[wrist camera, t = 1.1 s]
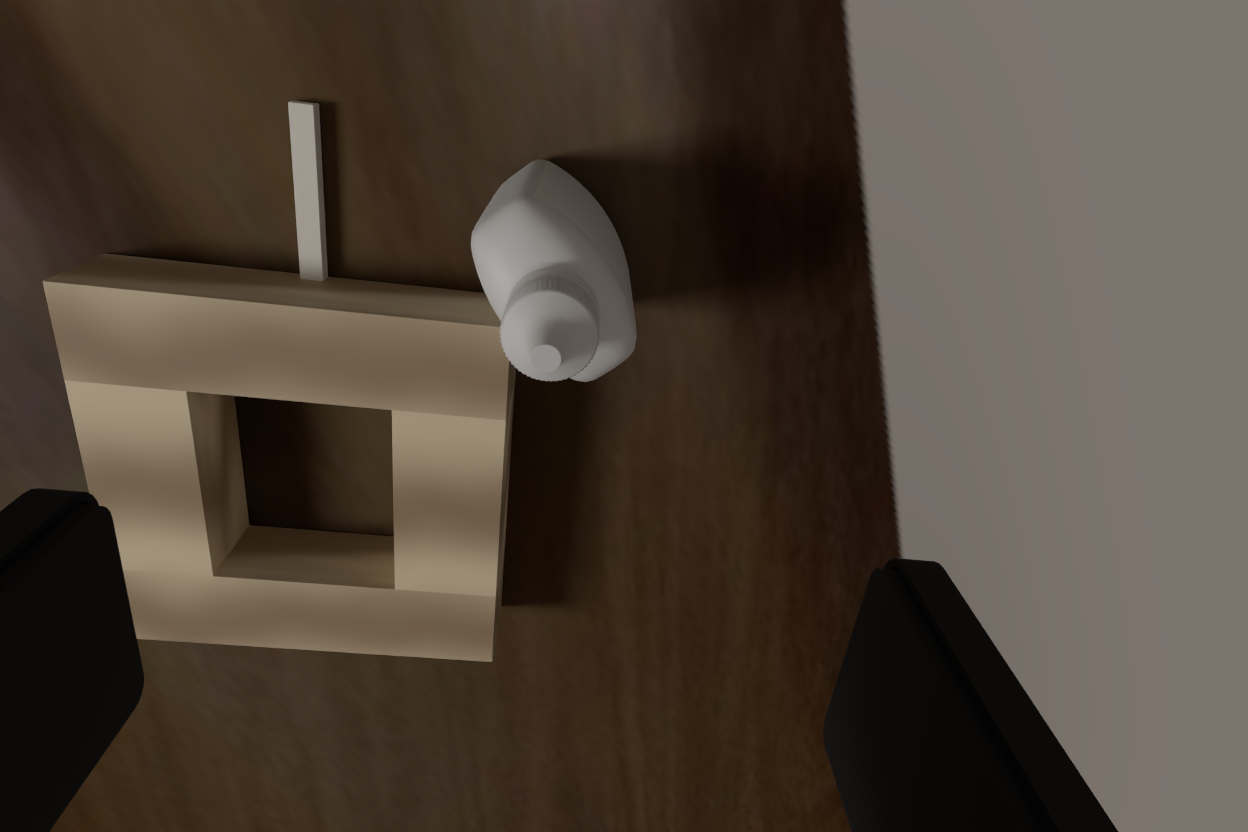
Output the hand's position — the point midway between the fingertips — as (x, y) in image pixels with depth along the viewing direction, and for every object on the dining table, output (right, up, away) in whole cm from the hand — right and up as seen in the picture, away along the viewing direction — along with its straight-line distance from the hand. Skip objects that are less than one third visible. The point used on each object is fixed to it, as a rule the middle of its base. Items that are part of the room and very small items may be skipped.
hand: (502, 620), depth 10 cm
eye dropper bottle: (-1, +9, +19) cm, 21 cm away
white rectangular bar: (-10, +10, +17) cm, 22 cm away
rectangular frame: (-11, +1, +22) cm, 24 cm away
